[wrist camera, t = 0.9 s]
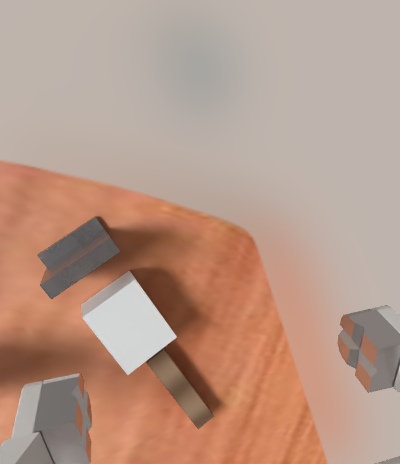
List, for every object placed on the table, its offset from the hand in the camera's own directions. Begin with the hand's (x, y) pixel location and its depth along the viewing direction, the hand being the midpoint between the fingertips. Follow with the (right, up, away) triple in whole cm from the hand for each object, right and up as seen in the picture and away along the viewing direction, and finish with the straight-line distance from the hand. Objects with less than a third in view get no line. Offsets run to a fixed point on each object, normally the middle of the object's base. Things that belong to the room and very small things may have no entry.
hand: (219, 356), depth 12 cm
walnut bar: (-4, -19, +48) cm, 52 cm away
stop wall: (-17, +1, +41) cm, 44 cm away
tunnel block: (-11, -8, +44) cm, 46 cm away
